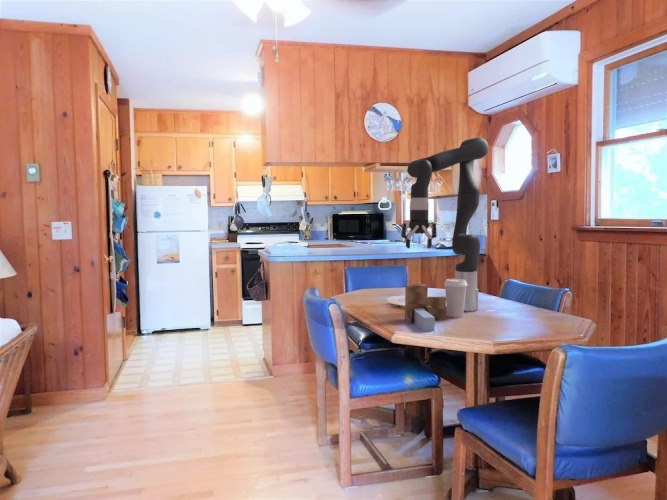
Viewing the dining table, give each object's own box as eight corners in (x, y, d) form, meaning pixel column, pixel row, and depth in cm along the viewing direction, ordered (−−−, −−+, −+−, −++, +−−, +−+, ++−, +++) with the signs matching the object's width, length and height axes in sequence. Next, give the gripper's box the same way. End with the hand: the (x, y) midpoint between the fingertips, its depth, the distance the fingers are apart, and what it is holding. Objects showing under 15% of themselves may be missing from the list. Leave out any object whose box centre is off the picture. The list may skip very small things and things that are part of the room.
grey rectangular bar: (434, 331, 180) (434, 316, 180) (423, 331, 180) (423, 316, 179) (423, 321, 196) (423, 308, 196) (412, 321, 196) (412, 308, 195)
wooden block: (443, 318, 202) (444, 284, 201) (449, 322, 194) (450, 286, 193) (402, 318, 200) (402, 284, 199) (407, 323, 192) (407, 287, 192)
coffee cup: (462, 319, 200) (463, 282, 199) (440, 316, 205) (440, 280, 204) (469, 315, 208) (470, 279, 207) (447, 312, 213) (448, 278, 212)
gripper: (404, 208, 201) (403, 249, 202) (438, 208, 202) (438, 248, 203) (400, 209, 208) (399, 247, 209) (433, 209, 209) (433, 247, 210)
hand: (418, 248), depth 206 cm, fingers open, 8 cm apart
